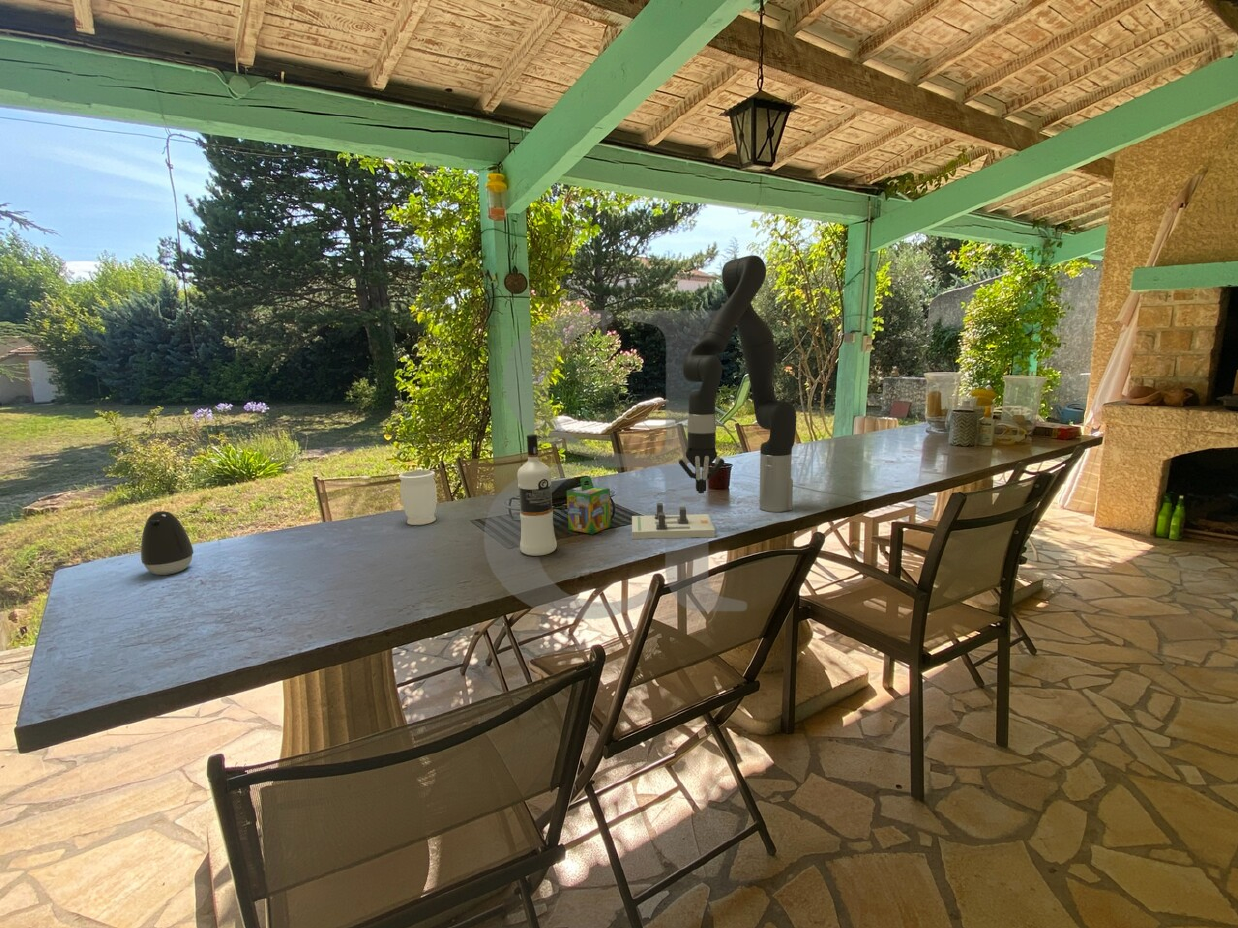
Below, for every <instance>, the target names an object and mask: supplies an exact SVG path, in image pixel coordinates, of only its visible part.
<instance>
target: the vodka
mask: <svg viewBox="0 0 1238 928" xmlns="http://www.w3.org/2000/svg"><path fill="white" fill-rule="evenodd" d="M526 442H527V443H526V446H527V462H525V463H524V464H523V465H521V466H520V467H519V468H518V470H517V474H516V476H517V481H518V483H517V486H518V492H519V509H520V513H519V517H520V530H521V531H520V542H519V549H520V551H521V552H522V553H523V554H524V555H527V556H529V557H530V556H531V557H540V556H545V555H549V554H551V553H554V551H555V550H556V549H557V547H558V546H557V545H558V544H557V543H558V542H557V538H556V535H555V528H554V516H553V515H554V511H553V499H552V498H553V497H552V472H551V469H550V467H549V465H546V464H545V463H543V462H542V461H540V459H539V447H538V446H539V445H538V444H539V443H538V435H537V434H532V433H530V434H527V435H526Z"/></svg>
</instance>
